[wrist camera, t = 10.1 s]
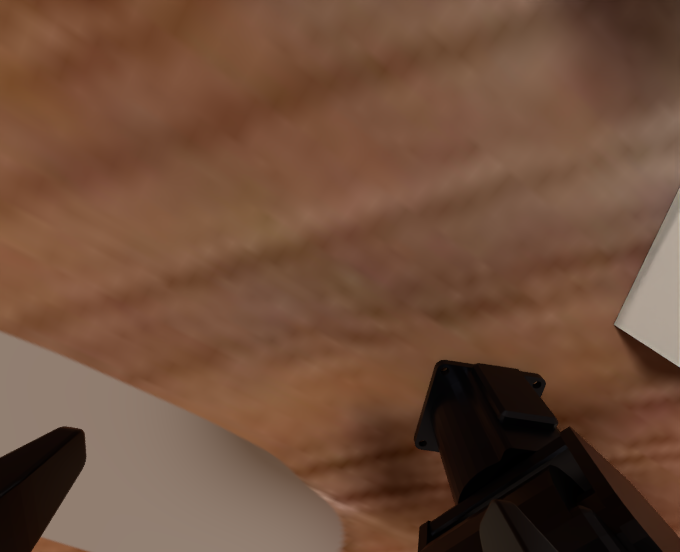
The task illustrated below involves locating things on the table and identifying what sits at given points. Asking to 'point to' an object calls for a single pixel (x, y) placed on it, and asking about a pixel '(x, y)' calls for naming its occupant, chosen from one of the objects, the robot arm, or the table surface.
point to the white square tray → (657, 292)
